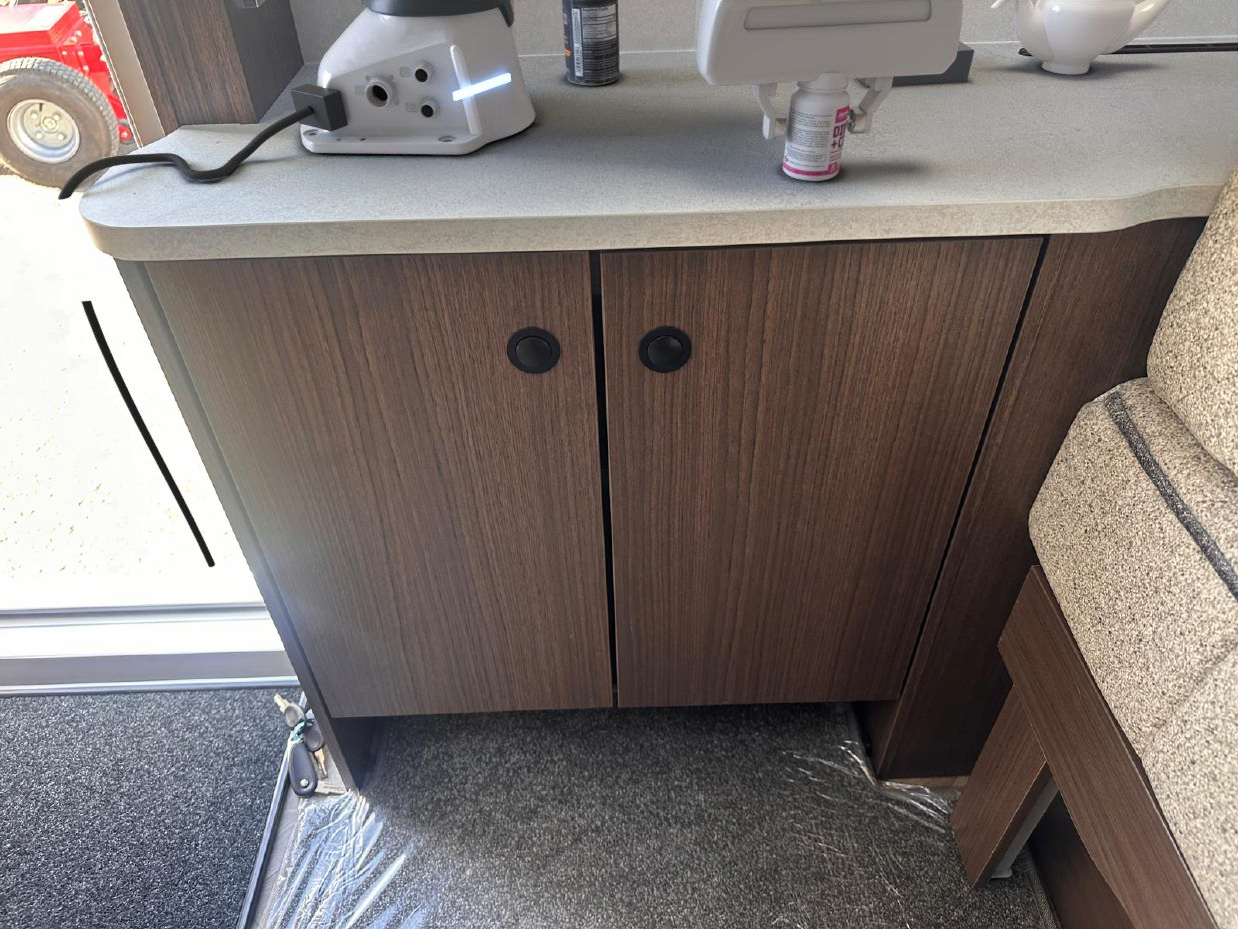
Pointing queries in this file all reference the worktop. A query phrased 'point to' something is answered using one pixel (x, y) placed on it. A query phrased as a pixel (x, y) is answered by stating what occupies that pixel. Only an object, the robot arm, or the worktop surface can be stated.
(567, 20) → the dark grey can
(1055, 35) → the teapot
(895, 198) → the worktop surface
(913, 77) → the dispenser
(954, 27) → the robot arm
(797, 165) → the pill bottle
